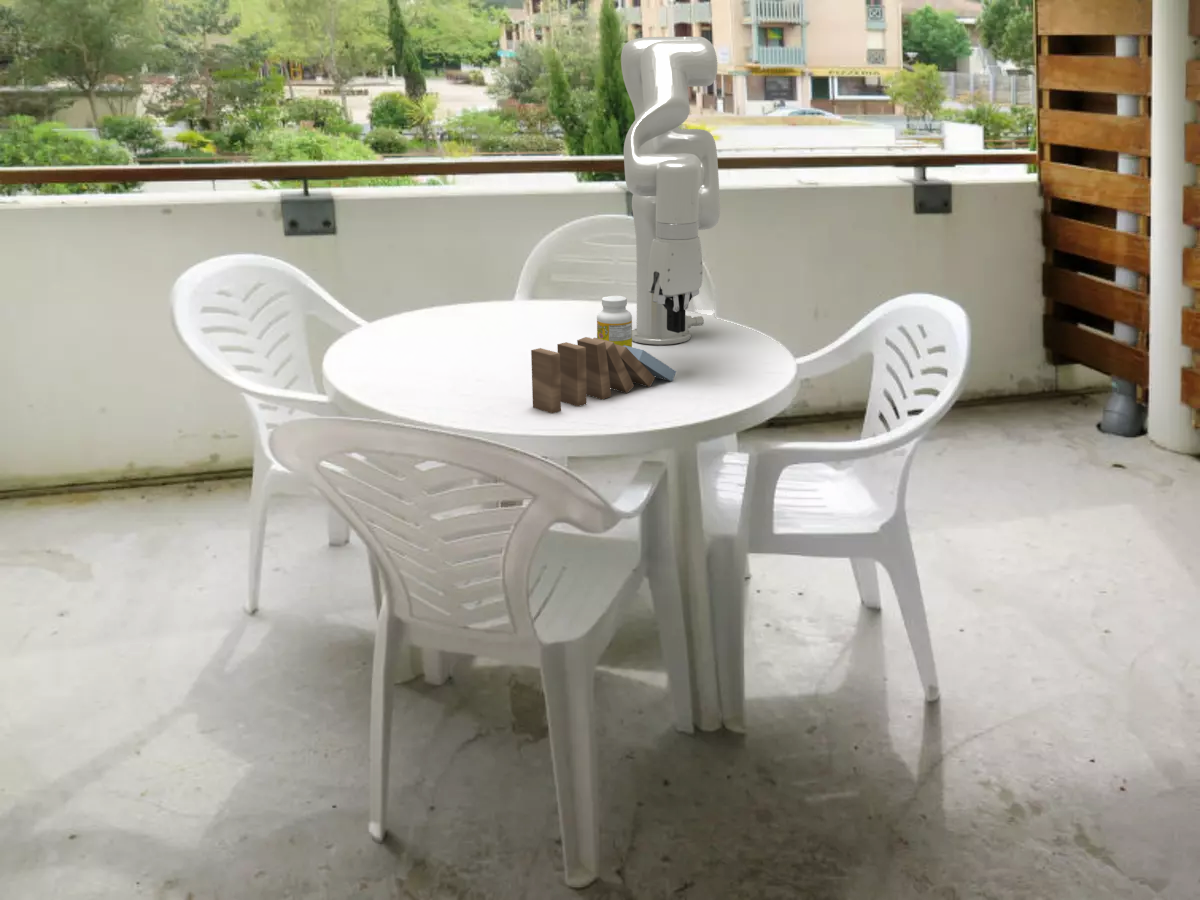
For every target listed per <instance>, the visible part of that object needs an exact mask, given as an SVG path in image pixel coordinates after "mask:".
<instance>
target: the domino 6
mask: <svg viewBox="0 0 1200 900" xmlns="http://www.w3.org/2000/svg"><path fill="white" fill-rule="evenodd" d="M624 347H626V348H627V349H628V350H629V351H630V352H631V353H632V354H633V355H634V356H635V357H636V358H637V359H638V360H639V361H640V362H641V363H642V364H643V365H644V366H645V367H646V369H647V370H648V371H649V372H650V373H651V374H652V375H653V376H654V377H655V378H658V379H661V380H665V381H668V380H669V382H673V380H674V378H675V375H676V373H677V371H676V370H675V369H673V368H672V367H671V366H668V365H667V364H666V363H664V362H662V361H661V360H659V359H658V358H656V357H655V356H653V355H652V354H650V353H649V352H647V351H645V350H644V349H640V348H637V347H633V346H632V347H629V346H625V345H624Z"/></svg>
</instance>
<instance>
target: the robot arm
mask: <svg viewBox="0 0 1200 900" xmlns="http://www.w3.org/2000/svg"><path fill="white" fill-rule="evenodd" d="M620 55H621V56H620V63H621V73H622V78H623V82H624V86H625V88H626V89H625V90H626V91H627V94H628V97H629V99H630V101H631V104H632V107H633V112H634V121H633V123H631V126H630V127H629V129H628V131H627V133H626V135H625V139H624V144H623V162H624V163H623V165H624V178H625V185H626V187H627V189H628V191H629V192H630V193H631V194H632V196H631V197H632V198H631V209H632V218H633V225H634V230H635V231H634V232H635V246H636V247H635V248H636V249H635V250H636V251H635V252H636V253H635V254H636V328H634V329H632V342H635V343H639V344H642V345H643V344H644V345H657V346H659V345H661V346H662V345H664V346H665V345H674V344H675V345H676V344H681V343H685V342H687V341H689V340H690V339H691V335H692V334H691V331H690V330H688V329H691V327H700V326H703V325H705V319H704V317H703V316H702V315H701V316H693V317H692V316H691V315H686V310H688V309H689V304H690V301H691V300H692V299H693V298H695V297H697V296H698V295H699V294H700V289H701V287H702V283H703V276H704V275H703V272H704V270H703V268H704V265H703V252H702V246H701V239H700V236H699V231H703V230H710V229H713V228H715V227H716V226H717V225H718V223H719V220H720V216H721V215H720V214H721V195H720V182H719V181H720V179H719V177H720V176H719V166H718V165H719V163H718V161H719V160H718V149H717V143H716V141H715V139H714V136H713V134H711V132H709V131H708V130H705V129H701V128H699V129H697V128H696V129H695V128H692V129H691V128H690V129H689V128H688V129H687V128H685V129H681V128H680V126H681V125H683V124H684V122H685V121H686V120H687V119H688V117H689V115H690V109H691V108H690V100H689V99H690V98H689V91H688V90H689V89H688V87H689V88H690V87H693V88H694V87H709V86H711V85H712V84H714V83H715V81H716V78H717V74H718V57H717V53H716V50H715V47H714V45H713V44H712V42H711V41H710V40H709V39H707V38H705V37H704V36H646V37H639V38H635V39H631V40H629V41H627V42H626V43H625V44H624V45H623V47H622V50H621V54H620Z"/></svg>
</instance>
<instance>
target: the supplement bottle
mask: <svg viewBox="0 0 1200 900" xmlns="http://www.w3.org/2000/svg"><path fill="white" fill-rule="evenodd" d="M627 299H628V298H627V297H625V296H622V295H609V296H603V297H602V298H601V305H602V310H600V311H599V312H598V313H597V315H596V338H598V339H602V340H606V341H610V342H614V344H616V345H620V346H624V345H625V346H629V347H633V341H632V330H633V316H632V313H631V311H629V310H627V304H628V301H627Z"/></svg>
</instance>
